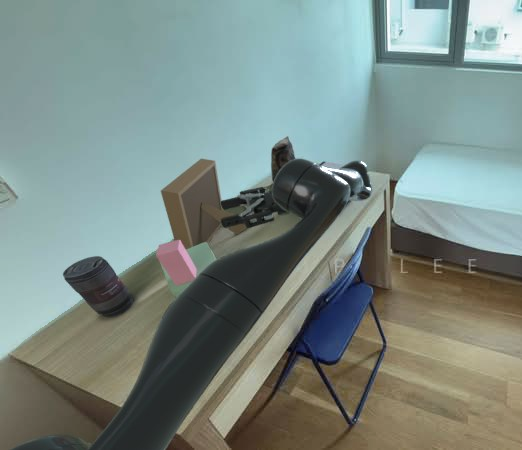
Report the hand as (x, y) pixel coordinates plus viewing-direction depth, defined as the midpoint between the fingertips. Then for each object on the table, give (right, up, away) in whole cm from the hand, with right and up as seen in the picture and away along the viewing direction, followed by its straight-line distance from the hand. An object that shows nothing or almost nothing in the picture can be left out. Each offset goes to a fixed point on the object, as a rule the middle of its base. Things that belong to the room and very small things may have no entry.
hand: (221, 214), depth 70 cm
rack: (-16, -20, +18) cm, 31 cm away
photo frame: (-21, -7, +36) cm, 43 cm away
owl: (-10, +16, +69) cm, 71 cm away
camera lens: (-35, -25, +13) cm, 45 cm away
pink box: (-15, -16, +10) cm, 24 cm away
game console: (+11, +9, +57) cm, 58 cm away
